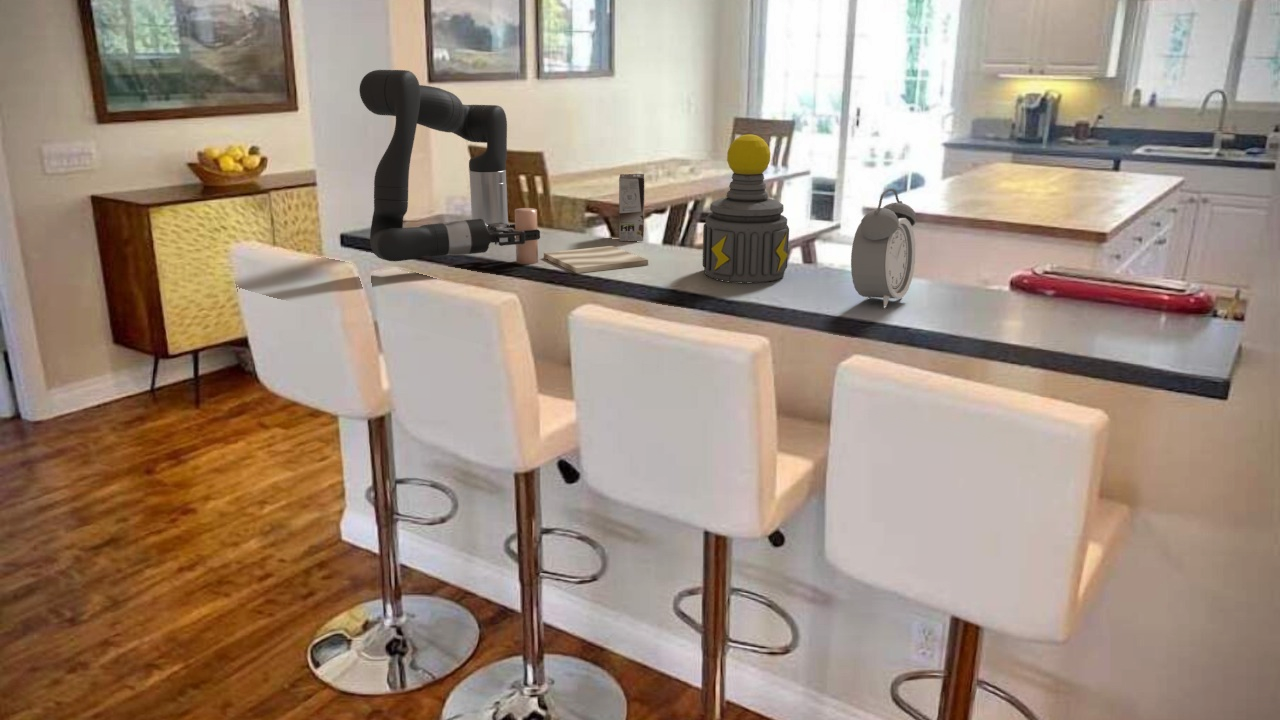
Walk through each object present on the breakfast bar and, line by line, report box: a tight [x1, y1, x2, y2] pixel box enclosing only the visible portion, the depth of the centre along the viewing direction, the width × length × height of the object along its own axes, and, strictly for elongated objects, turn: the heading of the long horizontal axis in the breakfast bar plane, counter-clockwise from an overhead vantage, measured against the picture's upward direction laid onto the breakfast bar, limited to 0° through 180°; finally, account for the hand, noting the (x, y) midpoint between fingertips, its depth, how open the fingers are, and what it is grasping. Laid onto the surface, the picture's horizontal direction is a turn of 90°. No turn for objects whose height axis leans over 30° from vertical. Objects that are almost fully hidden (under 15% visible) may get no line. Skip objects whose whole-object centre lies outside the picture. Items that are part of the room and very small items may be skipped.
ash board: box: [543, 245, 649, 274], centre depth 221 cm, size 18×18×1 cm
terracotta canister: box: [514, 207, 539, 265], centre depth 218 cm, size 5×5×12 cm
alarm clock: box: [850, 188, 917, 307], centre depth 184 cm, size 16×9×22 cm, turn 146°
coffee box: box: [618, 173, 645, 242], centre depth 245 cm, size 9×6×16 cm
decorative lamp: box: [702, 133, 790, 284], centre depth 204 cm, size 19×19×30 cm
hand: (532, 231), depth 219 cm, fingers open, 8 cm apart
